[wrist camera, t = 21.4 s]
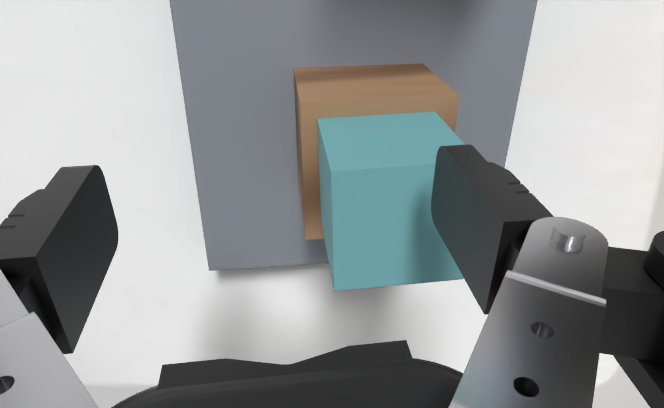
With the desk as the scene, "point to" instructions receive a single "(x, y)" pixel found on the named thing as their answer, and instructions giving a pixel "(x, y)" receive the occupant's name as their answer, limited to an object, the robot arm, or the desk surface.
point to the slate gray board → (279, 100)
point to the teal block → (382, 199)
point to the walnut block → (357, 112)
